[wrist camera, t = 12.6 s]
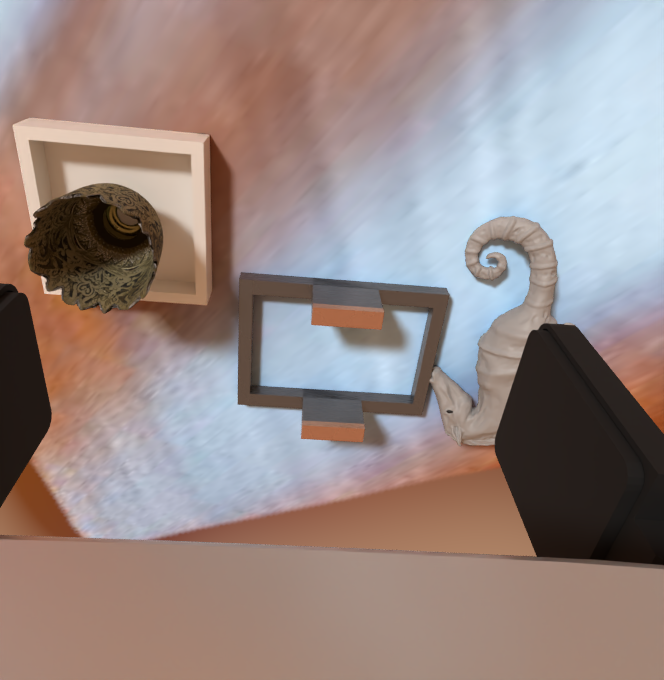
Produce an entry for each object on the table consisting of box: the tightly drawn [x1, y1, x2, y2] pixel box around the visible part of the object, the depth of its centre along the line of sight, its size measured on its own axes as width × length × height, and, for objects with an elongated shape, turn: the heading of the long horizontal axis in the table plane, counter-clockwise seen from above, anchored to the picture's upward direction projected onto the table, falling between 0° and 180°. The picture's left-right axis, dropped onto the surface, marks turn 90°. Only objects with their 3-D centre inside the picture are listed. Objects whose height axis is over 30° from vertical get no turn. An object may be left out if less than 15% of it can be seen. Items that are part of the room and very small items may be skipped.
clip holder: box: [238, 272, 449, 442], centre depth 44 cm, size 16×12×5 cm
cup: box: [24, 183, 163, 314], centre depth 36 cm, size 8×7×8 cm
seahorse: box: [430, 216, 574, 446], centre depth 44 cm, size 5×12×20 cm
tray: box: [13, 118, 212, 305], centre depth 39 cm, size 12×12×2 cm
